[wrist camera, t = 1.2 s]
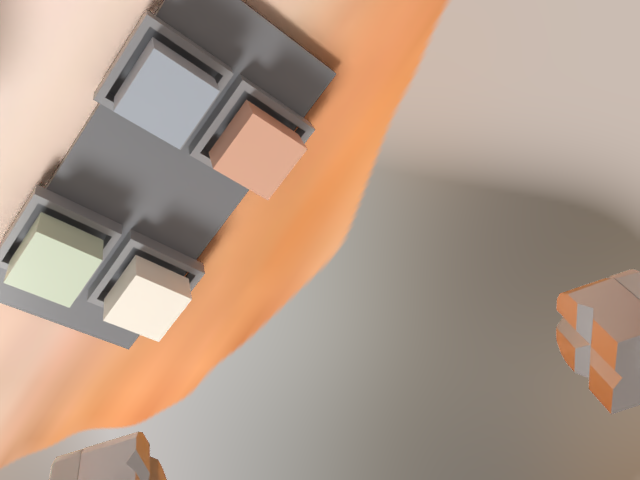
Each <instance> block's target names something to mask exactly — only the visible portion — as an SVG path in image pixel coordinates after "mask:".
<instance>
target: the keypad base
mask: <svg viewBox="0 0 640 480" xmlns="http://www.w3.org/2000/svg"><path fill="white" fill-rule="evenodd" d="M152 37H154V38H155V39H157V40H158V41H160V42H161V43H163V44H164V45H166V46H167V47H169V48H170V49H172V50H173V51H175V52H176V53H178V54H179V55H181V56H182V57H184V58H185V59H187V60H188V61H189V62H191V63H192V64H194V65H195V66H197V67H198V68H200V69H201V70H203V71H204V72H206V73H207V74H209V75H210V76H212V77H213V78H215V80H216V83H217V85H218V88H219V90H220V92H219V94H218V95H217V96H216V98H215V99H214V101H213V102H212V104H211V105H210V107H209V108H208V109H207V111H206V112H205V114H204V115H203V117H202V118H201V119H200V121H199V122H198V124H197V125H196V127H195V128H194V130H193V131H192V132H191V134H190V135H189V137H188V138H187V140H186V141H185V142H184V144H183V145H182V147H181V148H180V149H178V148H176V147H174V146H173V145H171V144H169V143H167V142H166V141H164V140H162V139H160V138H159V137H157V136H155V135H153V134H152V133H150V132H148V131H146V130H145V129H143V128H141V127H140V126H138V125H136V124H134V123H133V122H131V121H129V120H127V119H126V118H124V117H122V116H120V115H119V114H117V113H115V112H113V110H114V96H115V95H116V93H117V92H118V90H119V89H120V87H121V85H122V84H123V82H124V81H125V79H126V78H127V76H128V74H129V73H130V71H131V70H132V68H133V67H134V65H135V63H136V62H137V60H138V59H139V57H140V56H141V54H142V52H143V51H144V49H145V48H146V46H147V45H148V43H149V41H150V40H151V38H152ZM335 75H336V73H335V72H334V71H333V70H332V69H330V68H329V67H328V66H326V65H325V64H324V63H323V62H321V61H320V60H319V59H317V58H316V57H315V56H313V55H312V54H311V53H310V52H308V51H307V50H306V49H304V48H303V47H302V46H300V45H299V44H298V43H297V42H295V41H294V40H293V39H291V38H290V37H289V36H287V35H286V34H285V33H283V32H282V31H281V30H280V29H278V28H277V27H276V26H274V25H273V24H272V23H270V22H269V21H268V20H267V19H265V18H264V17H263V16H261V15H260V14H259V13H257V12H256V11H255V10H254V9H252V8H251V7H250V6H248V5H247V4H246V3H244V2H243V1H242V0H163V1H162V3H161V5H160V6H159V8H158V9H157V11H156V12H155V14H152V13H151V12H149V11H148V10H147V9H146V11H145V12H144V14H143V15H142V17H141V19H140V20H139V22H138V23H137V25H136V27H135V28H134V30H133V31H132V33H131V35H130V36H129V38H128V39H127V41H126V43H125V44H124V46H123V47H122V49H121V51H120V52H119V54H118V55H117V57H116V59H115V60H114V62H113V63H112V65H111V67H110V68H109V70H108V71H107V73H106V75H105V76H104V78H103V79H102V81H101V83H100V84H99V86H98V87H97V89H96V91H95V92H94V99H93V100H95V101H97V102H98V105H97V106H96V108H95V109H94V111H93V112H92V114H91V116H90V117H89V119H88V120H87V122H86V124H85V125H84V127H83V128H82V130H81V132H80V133H79V135H78V136H77V138H76V139H75V141H74V143H73V144H72V146H71V147H70V149H69V151H68V152H67V154H66V155H65V157H64V158H63V160H62V162H61V163H60V165H59V166H58V168H57V170H56V171H55V173H54V174H53V176H52V178H51V179H50V181H49V182H48V184H47V185H46V187H45V188H43V187H41V186H39V185H36V187H35V188H34V190H33V192H32V193H31V195H30V196H29V198H28V200H27V201H26V203H25V204H24V206H23V208H22V209H21V211H20V212H19V214H18V216H17V217H16V219H15V220H14V222H13V224H12V225H11V227H10V229H9V230H8V232H7V233H6V235H5V237H4V238H3V240H2V241H1V243H0V303H2V304H5V305H8V306H11V307H13V308H16V309H19V310H22V311H24V312H27V313H30V314H33V315H35V316H38V317H41V318H44V319H46V320H49V321H52V322H55V323H57V324H60V325H63V326H66V327H69V328H71V329H74V330H77V331H80V332H82V333H85V334H88V335H91V336H93V337H96V338H99V339H102V340H104V341H107V342H110V343H113V344H115V345H118V346H121V347H124V348H126V349H129V348H130V347H131V346H132V344H133V343H134V342H135V340H136V339H137V338H138V336H139V334H137V333H134V332H131V331H129V330H126V329H124V328H121V327H118V326H116V325H113V324H110V323H108V322H105V321H103V313H104V298H105V297H106V296H107V294H108V293H109V291H110V290H111V289H112V287H113V286H114V284H115V283H116V282H117V280H118V279H119V277H120V276H121V275H122V273H123V272H124V270H125V269H126V268H127V266H128V265H129V263H130V262H131V261H132V259H133V258H134V256H135V255H137V256H140V257H142V258H144V259H146V260H149V261H151V262H153V263H155V264H157V265H160V266H162V267H164V268H166V269H168V270H171V271H173V272H175V273H177V274H179V275H182V276H184V275H185V274H186V273H187V272H189V273H188V274H187V276H186V278H188V279H189V283H190V290H191V291H192V290H193V288H194V287H195V286H196V285H197V283H198V282H199V281H200V279H201V278H202V277H203V275H204V274H205V271H204V265H203V263H201V262H199V261H197V258H198V257H199V256H200V254H201V253H202V252H203V250H204V249H205V248H206V246H207V245H208V244H209V242H210V241H211V240H212V238H213V237H214V236H215V234H216V233H217V232H218V230H219V229H220V228H221V226H222V225H223V224H224V222H225V221H226V220H227V218H228V217H229V216H230V214H231V213H232V212H233V211H234V209H235V208H236V207H237V205H238V204H239V203H240V201H241V200H242V199H243V197H244V196H245V195H246V193H247V192H248V191H249V189H247V188H246V187H244V186H242V185H240V184H239V183H237V182H235V181H233V180H232V179H230V178H228V177H226V176H225V175H223V174H221V173H219V172H218V171H216V170H214V169H213V167H212V163H211V160H210V156H209V151H210V150H211V148H212V147H213V146H214V144H215V143H216V141H217V140H218V139H219V137H220V136H221V134H222V133H223V132H224V130H225V129H226V127H227V126H228V125H229V123H230V122H231V120H232V119H233V118H234V116H235V115H236V113H237V112H238V111H239V109H240V108H241V106H242V105H243V104H244V102H245V101H246V100H248V101H249V102H251V103H252V104H254V105H255V106H257V107H258V108H260V109H261V110H263V111H264V112H266V113H267V114H269V115H270V116H272V117H273V118H275V119H276V120H278V121H279V122H281V123H282V124H284V125H285V126H287V127H288V128H290V129H291V130H293V131H294V130H295V128H296V127H297V126H298V127H299V128H298V129H297V130H296V131H295V132H296V133H297V134H299V136H300V138H301V139H302V141H303V143H304V144H305V142H306V141H307V140H308V138H309V137H310V136H311V134H312V133H313V132H314V131H315V129H314V127H313V126H312V124H311V123H310V122H309V121H307V120H306V119H304V116H305V115H306V114H307V112H308V111H309V110H310V108H311V107H312V106H313V104H314V103H315V102H316V100H317V99H318V98H319V97H320V95H321V94H322V93H323V91H324V90H325V89H326V87H327V86H328V85H329V83H330V82H331V81H332V79H333V78H334V77H335ZM41 212H43V213H45V214H47V215H49V216H51V217H54V218H56V219H58V220H60V221H63V222H65V223H67V224H69V225H71V226H74V227H76V228H78V229H80V230H82V231H85V232H87V233H89V234H91V235H93V236H96V237H98V238H100V239H102V240H104V244H103V260H102V262H101V263H100V265H99V266H98V268H97V269H96V270H95V272H94V273H93V275H92V276H91V278H90V279H89V281H88V282H87V283H86V285H85V286H84V288H83V289H82V291H81V292H80V293H79V295H78V296H77V298H76V299H75V301H74V302H73V304H72V305H71V306H70V308H68V307H66V306H63V305H60V304H58V303H55V302H53V301H50V300H47V299H45V298H42V297H39V296H37V295H34V294H31V293H29V292H26V291H24V290H21V289H18V288H16V287H13V286H10V285H8V284H5V283H4V279H5V275H6V272H7V268H8V265H9V261H10V260H11V258H12V256H13V255H14V253H15V252H16V250H17V249H18V247H19V246H20V244H21V242H22V241H23V239H24V238H25V236H26V235H27V233H28V231H29V230H30V228H31V227H32V225H33V224H34V222H35V220H36V219H37V217H38V216H39V214H40V213H41Z"/></svg>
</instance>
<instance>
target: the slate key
mask: <svg viewBox="0 0 640 480" xmlns="http://www.w3.org/2000/svg"><path fill="white" fill-rule="evenodd" d="M219 92H220V90H219V88H218V85H217V83H216V80H215V78H213V77H212V76H210V75H209V74H207V73H206V72H204V71H203V70H201V69H200V68H198V67H197V66H195V65H194V64H192V63H191V62H189V61H188V60H187V59H185V58H184V57H182V56H181V55H179V54H178V53H176V52H175V51H173V50H172V49H170V48H169V47H167V46H166V45H164V44H163V43H161V42H160V41H158V40H157V39H155V38H154V37H152V38H151V40H150V41H149V43H148V45H147V46H146V48H145V49H144V51H143V52H142V54H141V56H140V57H139V59H138V60H137V62H136V63H135V65H134V67H133V68H132V70H131V71H130V73H129V74H128V76H127V78H126V79H125V81H124V82H123V84H122V85H121V87H120V89H119V90H118V92H117V93H116V95H115V96H114V110H113V112H115V113H117V114H119V115H120V116H122V117H124V118H126V119H127V120H129V121H131V122H133V123H134V124H136V125H138V126H140V127H141V128H143V129H145V130H146V131H148V132H150V133H152V134H153V135H155V136H157V137H159V138H160V139H162V140H164V141H166V142H167V143H169V144H171V145H173V146H174V147H176V148H178V149H180V148H181V147H182V145H183V144H184V142H185V141H186V140H187V138H188V137H189V135H190V134H191V132H192V131H193V130H194V128H195V127H196V125H197V124H198V122H199V121H200V119H201V118H202V117H203V115H204V114H205V112H206V111H207V109H208V108H209V107H210V105H211V104H212V102H213V101H214V99H215V98H216V96H217V95H218V94H219Z"/></svg>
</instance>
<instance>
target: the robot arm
mask: <svg viewBox="0 0 640 480" xmlns="http://www.w3.org/2000/svg"><path fill="white" fill-rule="evenodd" d="M556 310H557V311H558V312H559V313H560V314H561V315H562V316H563V317H562V319H561V320H560V322H559V324H558V325H557V326H556V341H557V344H558V347H559V350H560V353H561V355H562V356H563V358H564V360H565V362H566V363H567V364H568V366H569V367H570V368H571V369H572V370H573V371H574V372H575V373H577V374H579V375H582V376H585V377H587V378H589V390H590V391H591V392H592V393H593V394H594V396H595V397H596V398H597V399H598V400H599V401H600V402H601V404H602V405H603V406H604V407H605V408H606V409H607V410H608V411H609V413H610V414H613V413H616V412H619V411H622V410H626V409H629V408H632V407H635V406H638V405H640V272H639V271H637V270H633V269H630V270H627V271H624V272H622V273H618V274H615V275H612V276H610V277H607V278H604V279H601V280H598V281H595V282H592V283H589V284H586V285H583V286H581V287H577V288H574V289H571V290H568V291H566V292H562V293H560V294H559V296H558V298H557V308H556ZM49 480H167V479H166V476H165V474H164V471H163V468H162V466H161V464H160V462H159V461H158V459H155V458H153V457H150V444H149V442H148V440H147V439H146V437H145V435H144V434H143V432H136V433H132V434H129V435H126V436H122V437H119V438H116V439H113V440H109V441H106V442H103V443H99V444H96V445H93V446H89V447H86V448H84V449H82V450H78V451H75V452H71V453H68V454H65V455H61V456H58V457H56V459H55V460H54V462H53V464H52V465H51V471H50V477H49Z"/></svg>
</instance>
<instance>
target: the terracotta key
mask: <svg viewBox="0 0 640 480" xmlns="http://www.w3.org/2000/svg"><path fill="white" fill-rule="evenodd" d="M306 150H307V147H306V146H305V144H304V143H303V141H302V139H301V138H300V136H299V134H297V133H296V132H294V131H293V130H291V129H290V128H288V127H287V126H285V125H284V124H282V123H281V122H279V121H278V120H276V119H275V118H273V117H272V116H270V115H269V114H267V113H266V112H264V111H263V110H261V109H260V108H258V107H257V106H255V105H254V104H252V103H251V102H249V101H248V100H246V101H245V102H244V104H243V105H242V106H241V108H240V109H239V111H238V112H237V113H236V115H235V116H234V118H233V119H232V120H231V122H230V123H229V125H228V126H227V127H226V129H225V130H224V132H223V133H222V134H221V136H220V137H219V139H218V140H217V141H216V143H215V144H214V146H213V147H212V148H211V150H210V151H209V156H210V160H211V163H212V167H213V169H214V170H216V171H218V172H219V173H221V174H223V175H225V176H226V177H228V178H230V179H232V180H233V181H235V182H237V183H239V184H240V185H242V186H244V187H246V188H247V189H249V190H251V191H252V192H254V193H256V194H258V195H259V196H261V197H263V198H265V199H266V200H269V198H270V197H271V196H272V195H273V193H274V192H275V191H276V189H277V188H278V187H279V185H280V184H281V183H282V182H283V180H284V179H285V178H286V176H287V175H288V174H289V172H290V171H291V170H292V169H293V167H294V166H295V165H296V163H297V162H298V161H299V159H300V158H301V157H302V156H303V154H304V153H305V152H306Z"/></svg>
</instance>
